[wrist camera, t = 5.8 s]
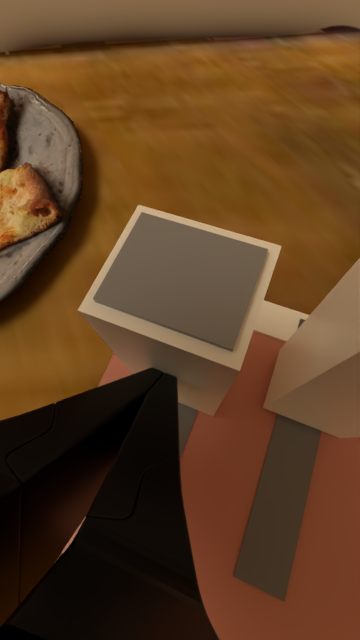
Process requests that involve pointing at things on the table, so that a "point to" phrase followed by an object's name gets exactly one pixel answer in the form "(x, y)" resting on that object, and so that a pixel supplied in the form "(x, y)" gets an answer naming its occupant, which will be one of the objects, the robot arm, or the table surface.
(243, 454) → the switch bank
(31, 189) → the food plate
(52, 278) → the table surface
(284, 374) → the tab
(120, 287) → the cream tall block
